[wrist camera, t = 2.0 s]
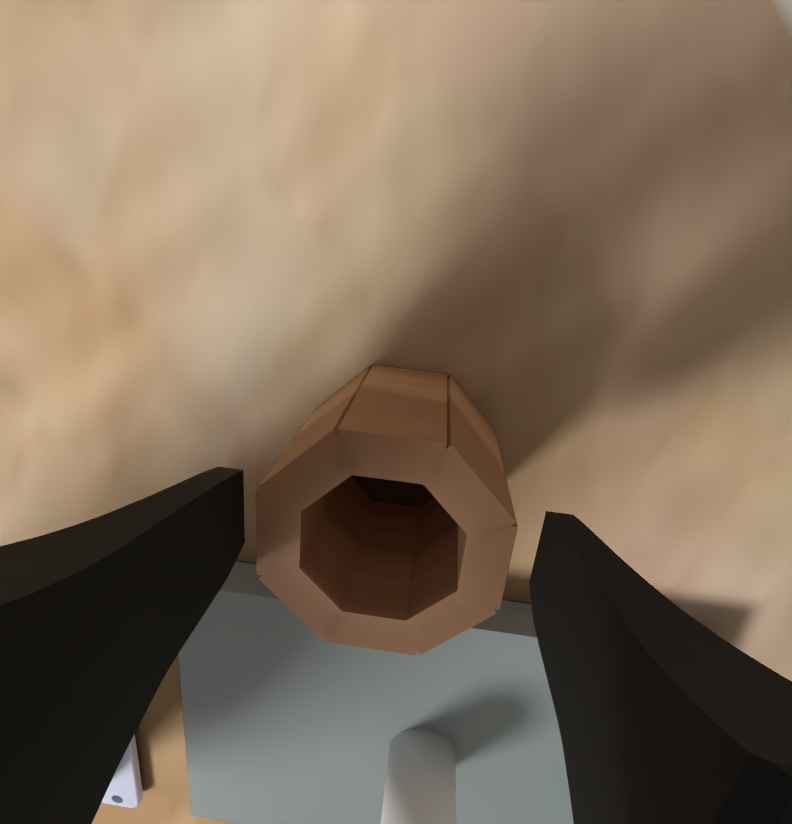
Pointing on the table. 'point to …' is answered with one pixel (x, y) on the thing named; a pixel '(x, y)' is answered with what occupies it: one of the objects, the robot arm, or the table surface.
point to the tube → (388, 515)
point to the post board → (366, 722)
